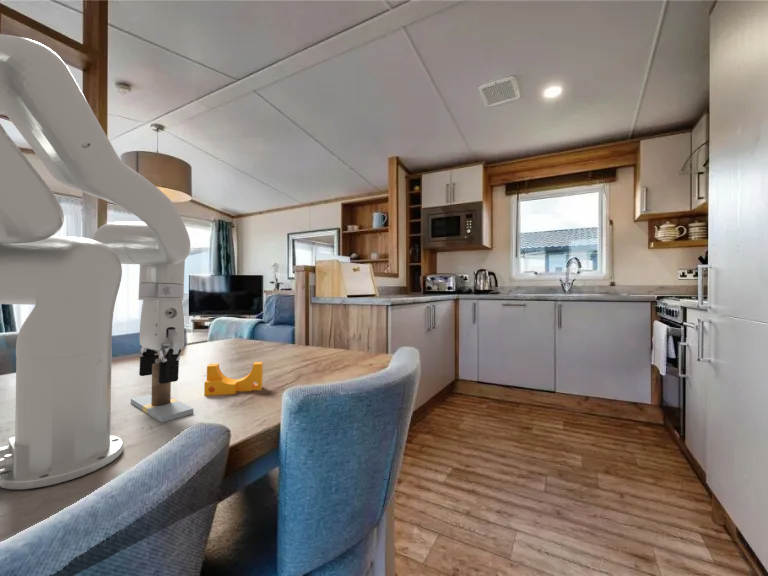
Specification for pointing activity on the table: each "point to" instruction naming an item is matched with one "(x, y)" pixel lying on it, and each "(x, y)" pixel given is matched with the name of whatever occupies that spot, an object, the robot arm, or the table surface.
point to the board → (162, 408)
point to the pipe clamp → (232, 381)
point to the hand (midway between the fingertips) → (158, 378)
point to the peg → (159, 387)
